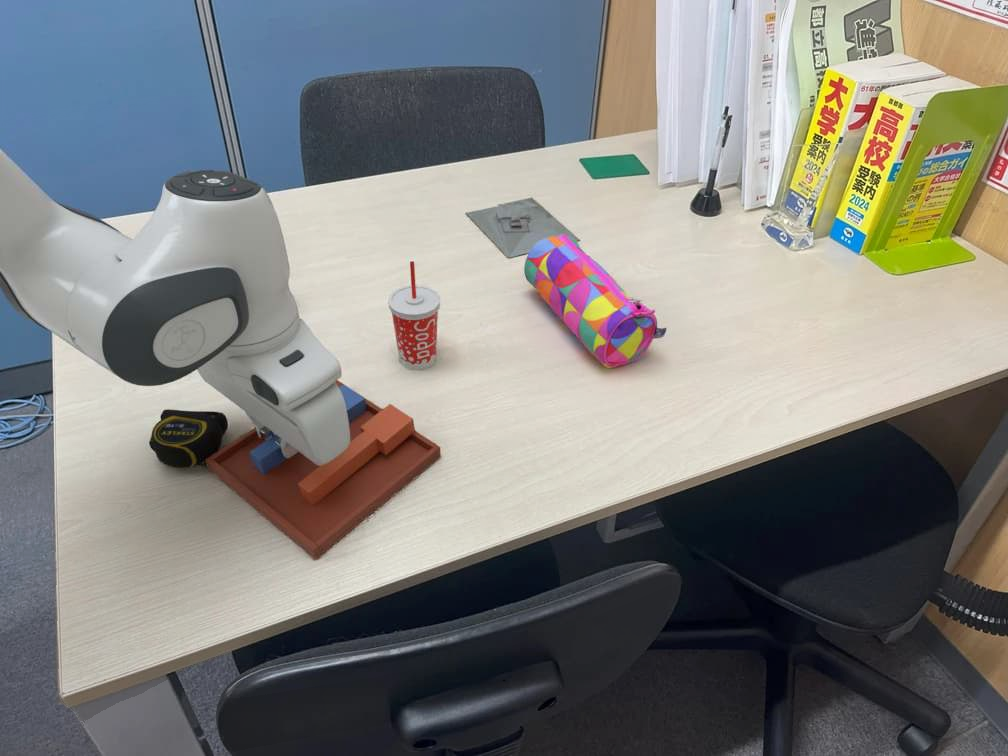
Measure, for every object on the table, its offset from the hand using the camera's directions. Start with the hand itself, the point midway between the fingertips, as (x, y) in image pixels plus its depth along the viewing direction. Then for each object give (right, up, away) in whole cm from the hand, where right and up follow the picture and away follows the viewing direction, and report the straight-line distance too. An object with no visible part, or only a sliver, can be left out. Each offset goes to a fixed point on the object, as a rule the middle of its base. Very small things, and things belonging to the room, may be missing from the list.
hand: (279, 444), depth 74 cm
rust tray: (+5, -2, +1) cm, 5 cm away
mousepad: (+22, +34, +43) cm, 59 cm away
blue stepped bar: (+3, +1, +4) cm, 5 cm away
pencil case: (+35, +14, +21) cm, 43 cm away
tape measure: (-10, -1, +2) cm, 11 cm away
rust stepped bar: (+9, -1, 0) cm, 9 cm away
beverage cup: (+13, +9, +15) cm, 22 cm away
